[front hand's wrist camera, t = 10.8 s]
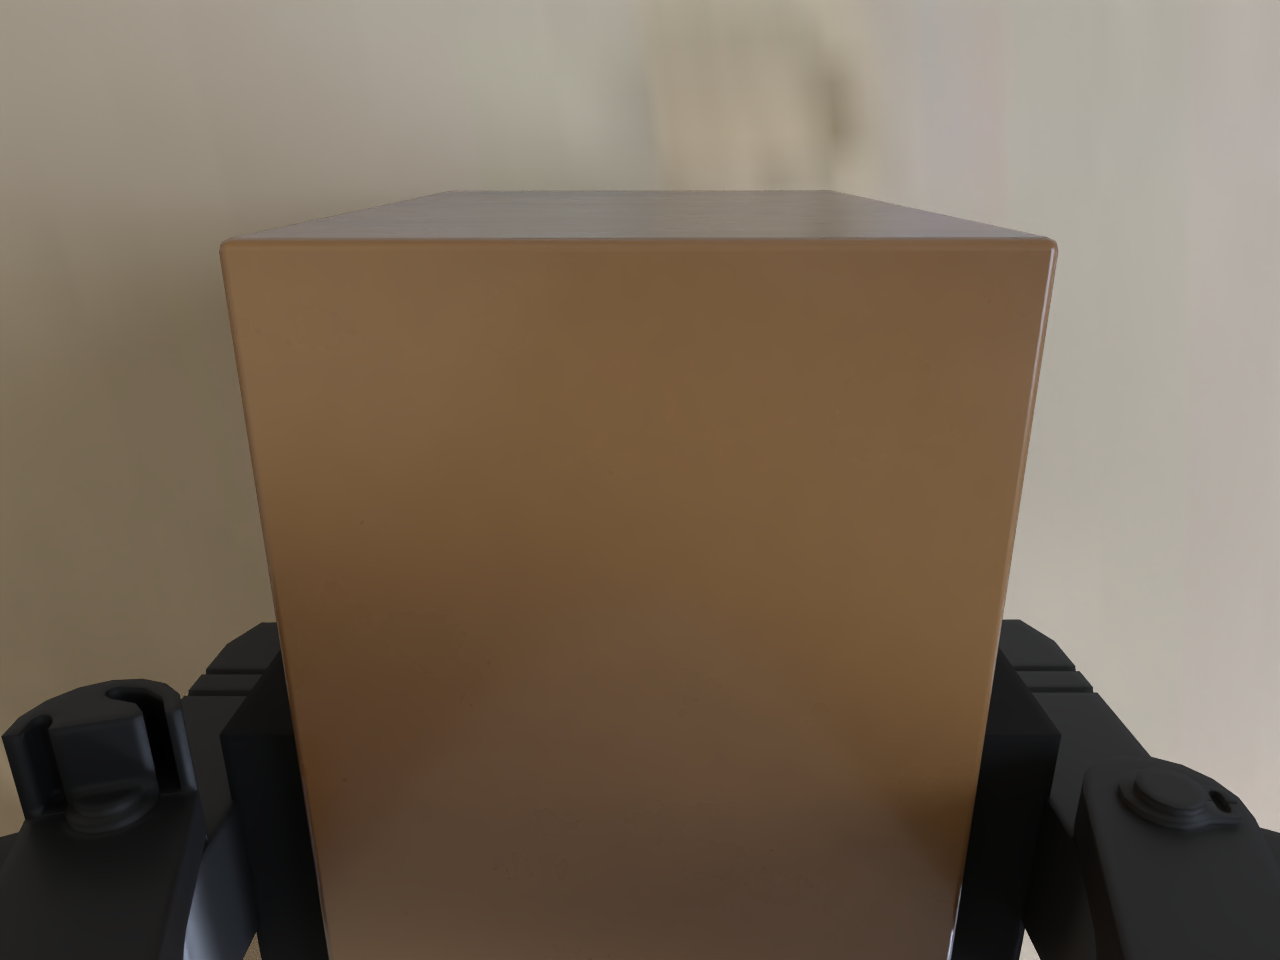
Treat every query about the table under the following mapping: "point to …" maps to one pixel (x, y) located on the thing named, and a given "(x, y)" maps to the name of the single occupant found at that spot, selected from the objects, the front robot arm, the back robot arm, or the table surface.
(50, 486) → the table surface
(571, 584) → the post
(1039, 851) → the front robot arm
